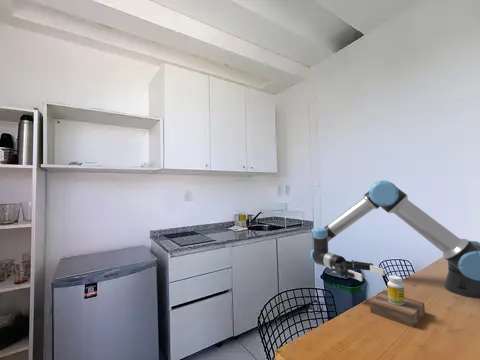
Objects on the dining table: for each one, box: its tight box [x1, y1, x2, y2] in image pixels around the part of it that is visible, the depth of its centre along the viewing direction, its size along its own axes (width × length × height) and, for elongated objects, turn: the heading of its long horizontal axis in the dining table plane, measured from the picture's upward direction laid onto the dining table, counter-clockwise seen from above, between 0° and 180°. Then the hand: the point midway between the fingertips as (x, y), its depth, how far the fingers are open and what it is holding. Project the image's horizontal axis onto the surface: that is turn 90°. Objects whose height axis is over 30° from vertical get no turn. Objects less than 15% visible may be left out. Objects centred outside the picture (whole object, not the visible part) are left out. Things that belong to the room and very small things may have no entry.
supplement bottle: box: [387, 275, 405, 305], centre depth 93 cm, size 5×5×10 cm
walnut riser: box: [369, 291, 426, 328], centre depth 93 cm, size 14×14×4 cm
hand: (373, 275), depth 102 cm, fingers open, 13 cm apart
